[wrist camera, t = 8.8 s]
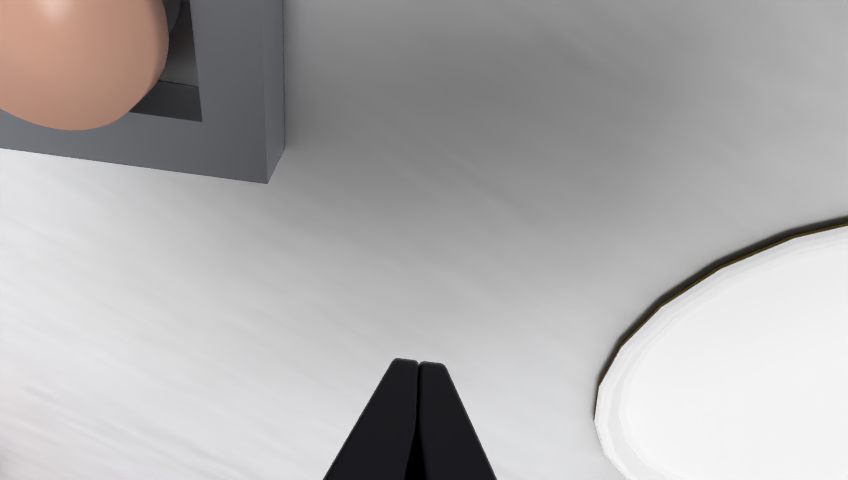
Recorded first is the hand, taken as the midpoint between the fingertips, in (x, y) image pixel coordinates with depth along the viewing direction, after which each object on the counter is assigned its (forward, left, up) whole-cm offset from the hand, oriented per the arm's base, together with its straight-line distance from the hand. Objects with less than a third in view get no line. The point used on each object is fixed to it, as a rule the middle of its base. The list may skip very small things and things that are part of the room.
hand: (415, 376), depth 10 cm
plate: (-20, +12, -13) cm, 27 cm away
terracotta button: (+10, -2, -12) cm, 16 cm away
